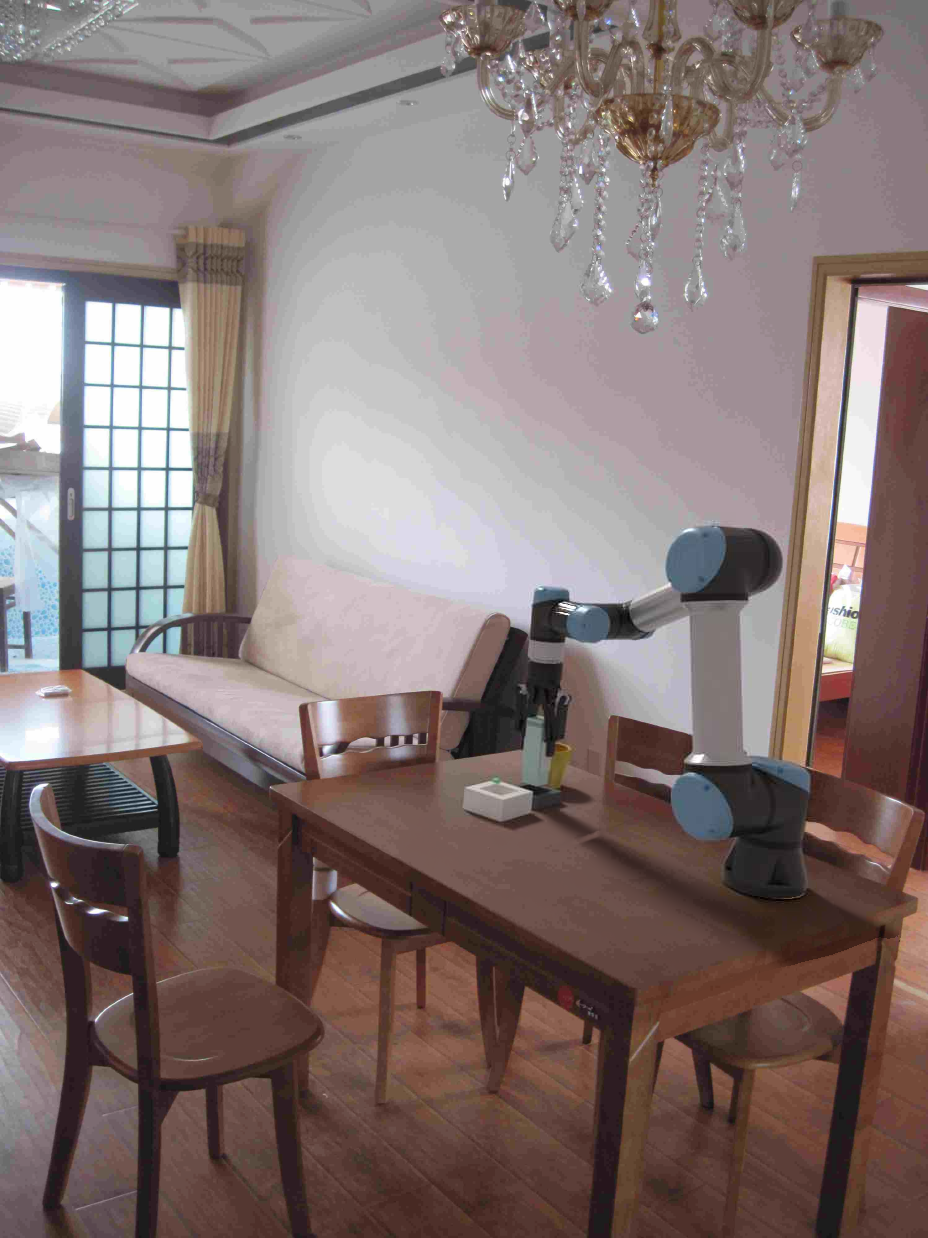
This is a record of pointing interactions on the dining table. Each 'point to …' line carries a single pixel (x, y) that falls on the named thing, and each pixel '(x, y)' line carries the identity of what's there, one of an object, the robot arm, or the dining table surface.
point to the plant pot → (558, 765)
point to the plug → (534, 752)
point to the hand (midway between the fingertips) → (535, 768)
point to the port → (497, 800)
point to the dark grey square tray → (542, 795)
